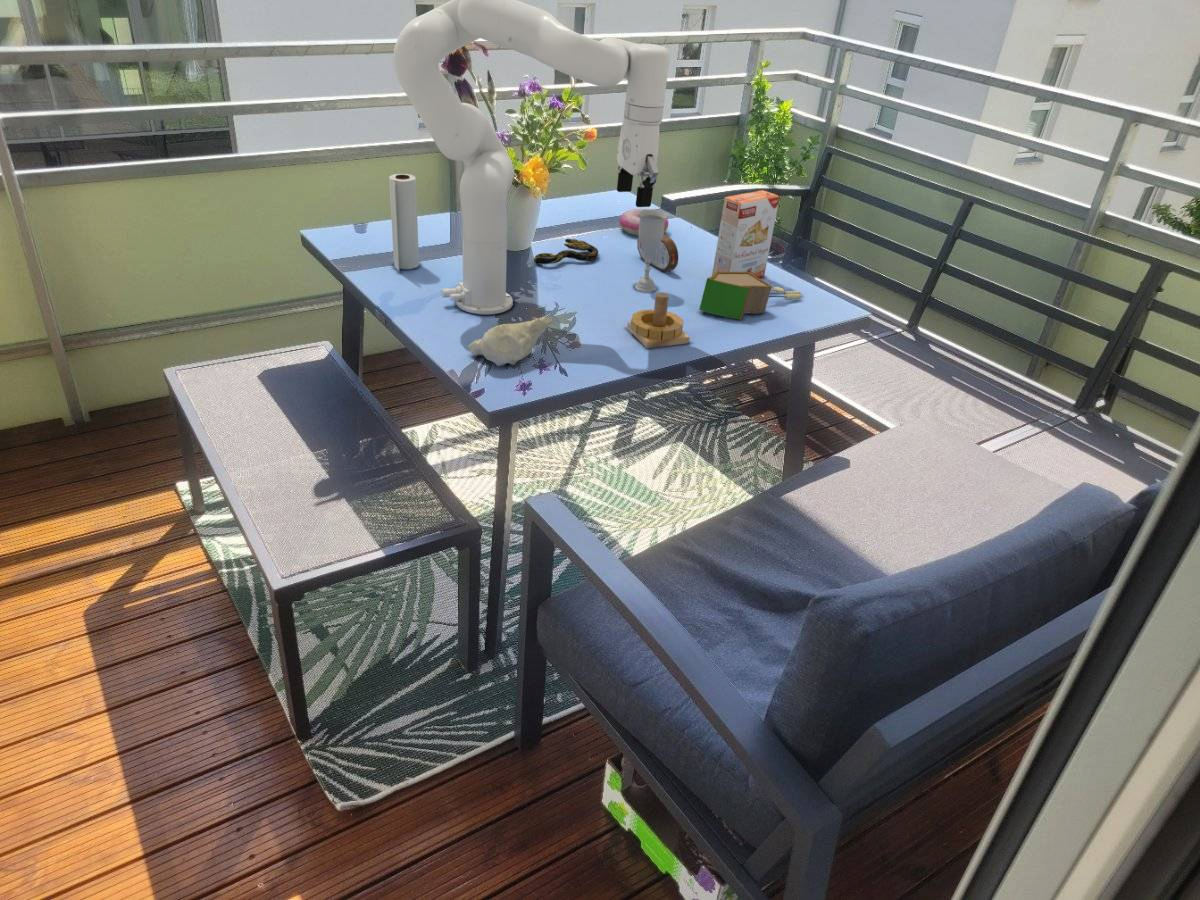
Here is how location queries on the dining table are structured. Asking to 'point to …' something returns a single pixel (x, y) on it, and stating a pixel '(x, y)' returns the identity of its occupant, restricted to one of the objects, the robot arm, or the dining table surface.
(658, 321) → the stand
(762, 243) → the cracker box
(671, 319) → the ring
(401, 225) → the paper towel roll
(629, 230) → the donut
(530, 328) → the conch shell
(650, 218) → the chalice
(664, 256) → the tin
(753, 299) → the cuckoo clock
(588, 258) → the toy snake
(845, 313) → the dining table surface
